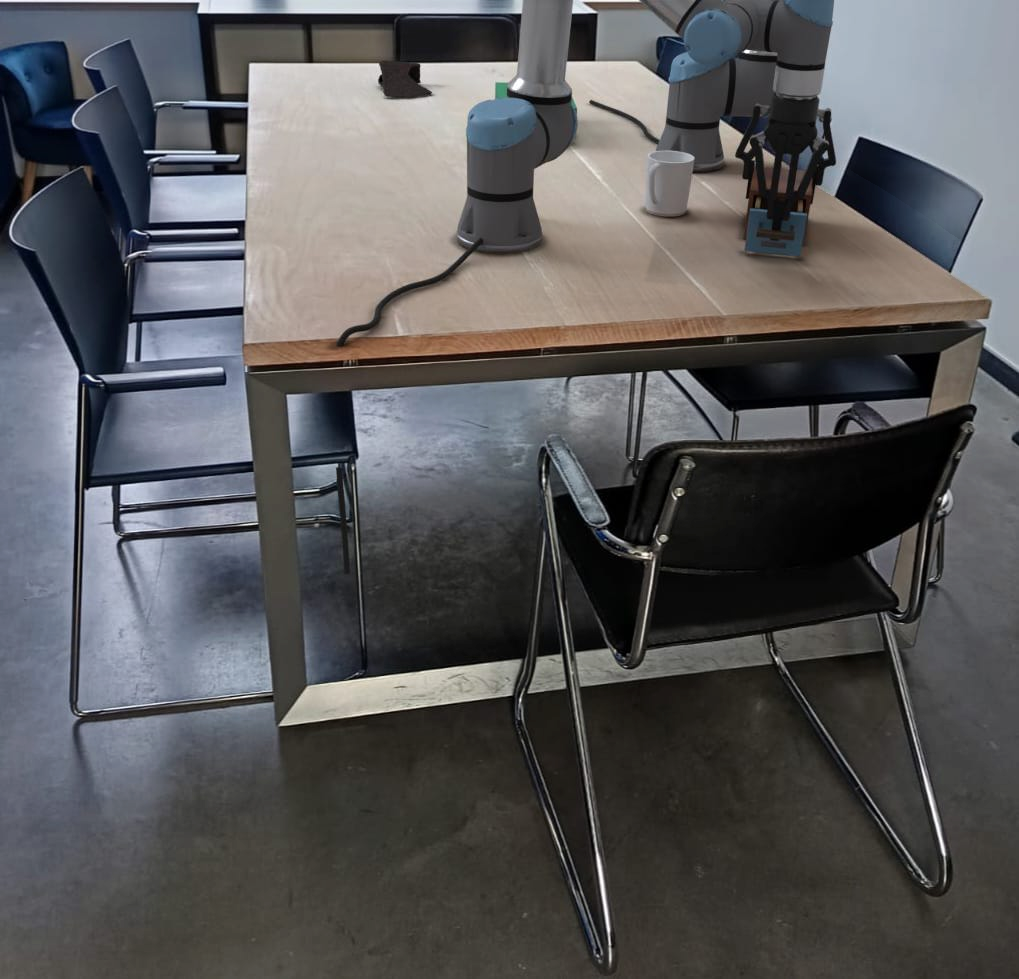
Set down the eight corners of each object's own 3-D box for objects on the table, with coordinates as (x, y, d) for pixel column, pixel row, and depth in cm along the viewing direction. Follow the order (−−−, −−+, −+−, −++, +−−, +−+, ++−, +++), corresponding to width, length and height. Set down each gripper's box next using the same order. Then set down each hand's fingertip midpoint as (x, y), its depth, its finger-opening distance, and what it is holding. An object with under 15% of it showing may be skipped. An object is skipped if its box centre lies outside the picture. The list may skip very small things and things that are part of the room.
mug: (658, 200, 218) (663, 148, 212) (697, 210, 213) (703, 156, 208) (627, 213, 210) (631, 159, 205) (667, 223, 206) (672, 168, 200)
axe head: (443, 87, 294) (392, 77, 287) (436, 115, 299) (385, 106, 292) (421, 62, 307) (371, 52, 300) (414, 89, 311) (365, 80, 304)
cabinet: (803, 244, 197) (812, 195, 192) (743, 239, 199) (749, 189, 194) (805, 218, 209) (812, 171, 205) (747, 213, 212) (754, 166, 207)
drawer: (799, 267, 186) (806, 225, 182) (742, 261, 187) (748, 220, 183) (801, 230, 201) (808, 191, 197) (748, 225, 203) (754, 186, 199)
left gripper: (837, 92, 176) (813, 234, 189) (755, 87, 179) (737, 227, 191) (838, 102, 170) (814, 248, 182) (753, 96, 172) (734, 241, 185)
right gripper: (864, 77, 195) (842, 199, 206) (732, 68, 199) (718, 188, 211) (865, 85, 189) (843, 210, 200) (729, 75, 193) (715, 199, 205)
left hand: (774, 237), depth 187 cm, fingers closed
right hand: (779, 199), depth 205 cm, fingers closed on cabinet, 11 cm apart
